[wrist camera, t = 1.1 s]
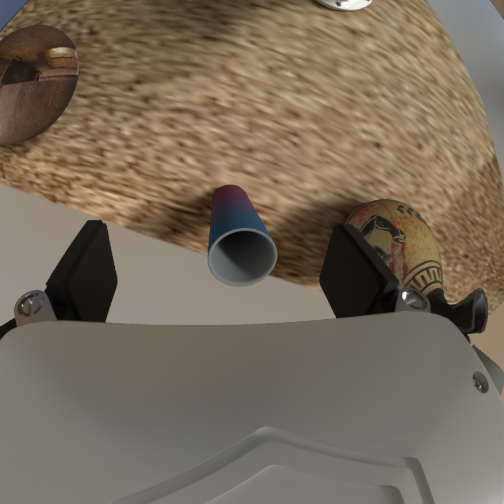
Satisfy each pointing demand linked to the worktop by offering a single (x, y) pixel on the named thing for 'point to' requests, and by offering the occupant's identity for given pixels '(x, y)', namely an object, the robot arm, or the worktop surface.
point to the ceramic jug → (415, 259)
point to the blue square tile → (9, 10)
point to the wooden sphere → (34, 81)
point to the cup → (238, 240)
